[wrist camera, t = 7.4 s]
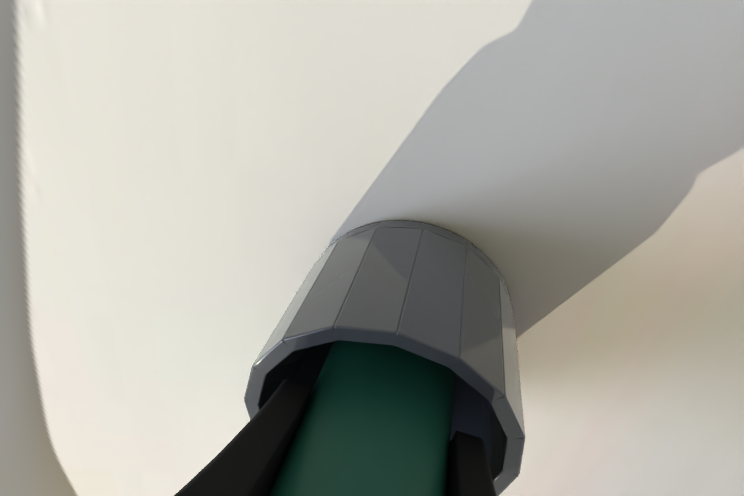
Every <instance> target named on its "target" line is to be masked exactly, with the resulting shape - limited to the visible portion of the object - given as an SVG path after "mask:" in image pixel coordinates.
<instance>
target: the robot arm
mask: <svg viewBox="0 0 744 496" xmlns="http://www.w3.org/2000/svg"><path fill="white" fill-rule="evenodd" d="M311 388H312V385H308V384H305V383H302V382H299V381H296V380H292V379H289V378H288V379H285V380H283V381H282V383H281V384H280V386H279V387H278V388H277V390H276V391H275V392H274V393H273V395H272V396H271V397H270V398H269V400H268V401H267V402H266V403H265V404H264V406H263V407H262V408H261V409H260V410H259V411H258V413H257V414H256V415H255V416H254V417H253V418H252V419H251V420H250V422H249V423H248V424H247V425H246V426H245V427H244V428H243V429H242V430H241V431H240V432H239V433H238V434H237V435H236V436H235V438H234V439H233V440H232V441H231V442H230V443H229V444H228V445H227V446H226V447H225V448H224V449H223V450H222V451H221V452H220V453H219V454H218V455H217V456H216V457H215V458H214V459H213V460H212V461H211V462H210V463H209V464H208V465H207V466H206V467H205V468H203V469H202V470H201V471H200V472H199V473H198V474H197V475H196V476H195V477H194V478H193V479H192V480H191V481H190V482H189V483H188V484H187V485H185V486H184V487H183V488H182V489H181V490H180V491H179V492H178V493H177V494H175V495H174V496H269V493H270V491H271V488H272V486H273V484H274V481H275V479H276V477H277V474H278V472H279V469H280V467H281V465H282V462H283V460H284V458H285V455H286V453H287V451H288V449H289V446H290V444H291V442H292V439H293V437H294V435H295V433H296V430H297V428H298V425H299V423H300V421H301V418H302V416H303V414H304V411H305V409H306V406H307V404H308V402H309V399H310V394H311ZM446 496H497V495H496V491H495V487H494V483H493V479H492V475H491V471H490V467H489V462H488V458H487V453H486V449H485V443H484V441H483V440H482V438H480V437H476V436H473V435H470V434H467V433H463V432H460V431H457V430H456V431H455V433H454V436H453V438H452V440H451V442H450V447H449V461H448V474H447V488H446Z"/></svg>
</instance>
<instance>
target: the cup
mask: <svg viewBox="0 0 744 496" xmlns="http://www.w3.org/2000/svg"><path fill="white" fill-rule="evenodd" d="M338 340H341V341H351V342H362V343H372V344H382V345H393V346H396V347H399V348H401V349H404V350H406V351H409V352H411V353H414V354H416V355H419V356H421V357H424V358H426V359H429V360H431V361H433V362H436V363H438V364H441V365H443V366H446V367H448V368H450V369H451V370H452V371H453V372H454V373H455V379H454V392H453V406H452V420H451V433H450V442H451V440H452V438H453V436H454V433H455V431H456V430H457V431H460V432H463V433H467V434H470V435H473V436H476V437H480V438H482V440H483V441H484V443H485V449H486V453H487V458H488V462H489V467H490V471H491V475H492V479H493V483H494V487H495V491H496V495H497V496H499V495H500V494H501V493H502V492H503V491H504V490H505V489H506V488H507V487H508V486H509V485H510V484H511V483H512V482H513V481H514V480H515V479H516V478H517V477H518V475H519V473H520V468H521V462H522V455H523V449H524V443H525V430H524V419H523V408H522V398H521V387H520V376H519V365H518V354H517V343H516V332H515V322H514V312H513V308H512V306H511V302H510V296H509V293H508V290H507V287H506V284H505V282H504V280H503V278H502V276H501V274H500V273H499V271H498V270H497V268H496V267H495V266H494V264H493V263H492V262H491V261H490V260H489V259H488V257H487V256H486V255H485V254H484V253H483V252H481V251H480V250H479V249H478V248H477V247H475V246H474V245H473V244H472V243H470V242H468V241H467V240H465V239H464V238H462V237H460V236H459V235H456V234H454V233H452V232H450V231H448V230H446V229H443V228H440V227H437V226H434V225H430V224H425V223H421V222H414V221H403V220H401V221H384V222H377V223H372V224H369V225H365V226H362V227H359V228H357V229H355V230H352V231H350V232H348V233H347V234H345V235H343V236H342V237H340V238H339V239H337V240H336V241H335V242H334V243H333V244H331V245H330V246H329V247H328V249H327V250H326V251H325V252H324V253H323V254H322V256H321V258H320V259H319V260H318V261H317V262H316V263H315V264H314V266H313V267H312V269H311V270H310V272H309V274H308V275H307V277H306V279H305V280H304V282H303V284H302V285H301V287H300V288H299V290H298V292H297V293H296V295H295V297H294V298H293V300H292V302H291V303H290V305H289V307H288V308H287V310H286V311H285V313H284V315H283V316H282V318H281V320H280V321H279V323H278V325H277V326H276V328H275V329H274V331H273V333H272V334H271V336H270V338H269V339H268V341H267V343H266V344H265V346H264V348H263V349H262V351H261V352H260V354H259V356H258V357H257V359H256V361H255V362H254V364H253V366H252V369H251V373H250V377H249V381H248V385H247V389H246V393H245V397H244V399H245V404H246V408H247V411H248V414H249V417H250V420H251V419H252V418H253V417H254V416H255V415H256V414H257V413H258V411H259V410H260V409H261V408H262V407H263V406H264V404H265V403H266V402H267V401H268V400H269V398H270V397H271V396H272V395H273V393H274V392H275V391H276V390H277V388H278V387H279V386H280V384H281V383H282V381H283V380H285V379H288V378H289V379H292V380H296V381H299V382H302V383H305V384H308V385H312V388H311V394H312V391H313V389H314V386H315V384H316V382H317V379H318V377H319V375H320V372H321V370H322V367H323V365H324V363H325V360H326V358H327V356H328V353H329V351H330V348H331V346H332V344H333V342H334V341H338ZM311 394H310V396H311Z"/></svg>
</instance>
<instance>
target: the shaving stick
mask: <svg viewBox="0 0 744 496" xmlns="http://www.w3.org/2000/svg"><path fill="white" fill-rule="evenodd" d="M454 379H455V373H454V372H453V371H452V370H451V369H450V368H448V367H446V366H443V365H441V364H438V363H436V362H433V361H431V360H429V359H426V358H424V357H421V356H419V355H416V354H414V353H411V352H409V351H406V350H404V349H401V348H399V347H396V346H393V345H382V344H372V343H362V342H351V341H341V340H338V341H334V342H333V344H332V346H331V348H330V351H329V353H328V356H327V358H326V360H325V363H324V365H323V367H322V370H321V372H320V375H319V377H318V379H317V382H316V384H315V386H314V389H313V391H312V394H311V396H310V399H309V402H308V404H307V406H306V409H305V411H304V414H303V416H302V418H301V421H300V423H299V425H298V428H297V430H296V433H295V435H294V437H293V439H292V442H291V444H290V446H289V449H288V451H287V453H286V455H285V458H284V460H283V462H282V465H281V467H280V469H279V472H278V474H277V477H276V479H275V481H274V484H273V486H272V488H271V491H270V493H269V496H446V488H447V474H448V461H449V447H450V433H451V420H452V406H453V392H454Z"/></svg>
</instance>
